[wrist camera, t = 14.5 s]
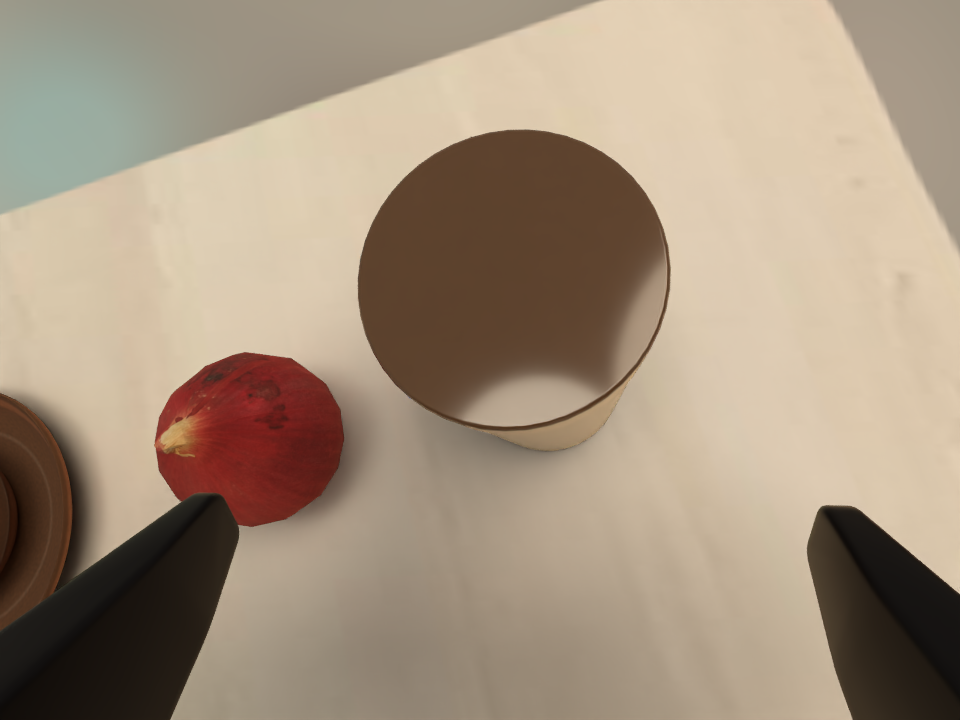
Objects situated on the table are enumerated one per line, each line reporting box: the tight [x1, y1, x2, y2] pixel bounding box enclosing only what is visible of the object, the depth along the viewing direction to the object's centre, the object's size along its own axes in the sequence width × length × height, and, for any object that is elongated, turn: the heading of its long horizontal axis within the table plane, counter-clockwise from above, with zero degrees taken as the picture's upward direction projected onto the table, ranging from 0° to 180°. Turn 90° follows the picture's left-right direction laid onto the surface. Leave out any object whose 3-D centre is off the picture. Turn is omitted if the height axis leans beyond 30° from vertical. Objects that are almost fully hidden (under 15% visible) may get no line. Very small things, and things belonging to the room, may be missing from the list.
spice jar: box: [358, 130, 671, 451], centre depth 16 cm, size 6×6×12 cm
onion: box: [154, 352, 344, 527], centre depth 20 cm, size 6×6×8 cm
